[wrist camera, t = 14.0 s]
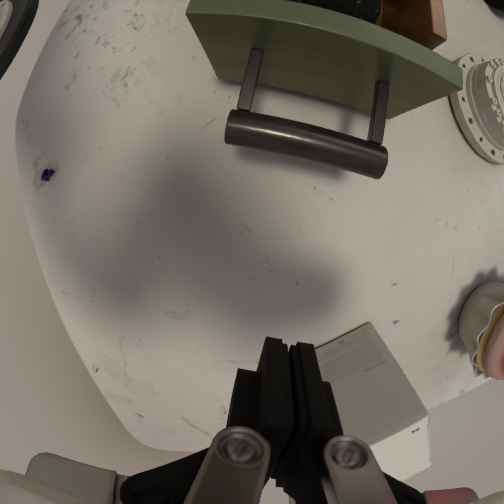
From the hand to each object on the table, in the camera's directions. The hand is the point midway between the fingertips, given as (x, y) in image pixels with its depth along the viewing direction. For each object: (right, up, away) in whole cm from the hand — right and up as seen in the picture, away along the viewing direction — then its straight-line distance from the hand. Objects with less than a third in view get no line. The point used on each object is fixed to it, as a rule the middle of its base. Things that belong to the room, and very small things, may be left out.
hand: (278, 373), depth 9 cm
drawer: (+3, +18, +5) cm, 19 cm away
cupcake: (+21, -1, +10) cm, 23 cm away
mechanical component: (+19, +17, +6) cm, 26 cm away
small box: (+8, -6, +12) cm, 15 cm away
